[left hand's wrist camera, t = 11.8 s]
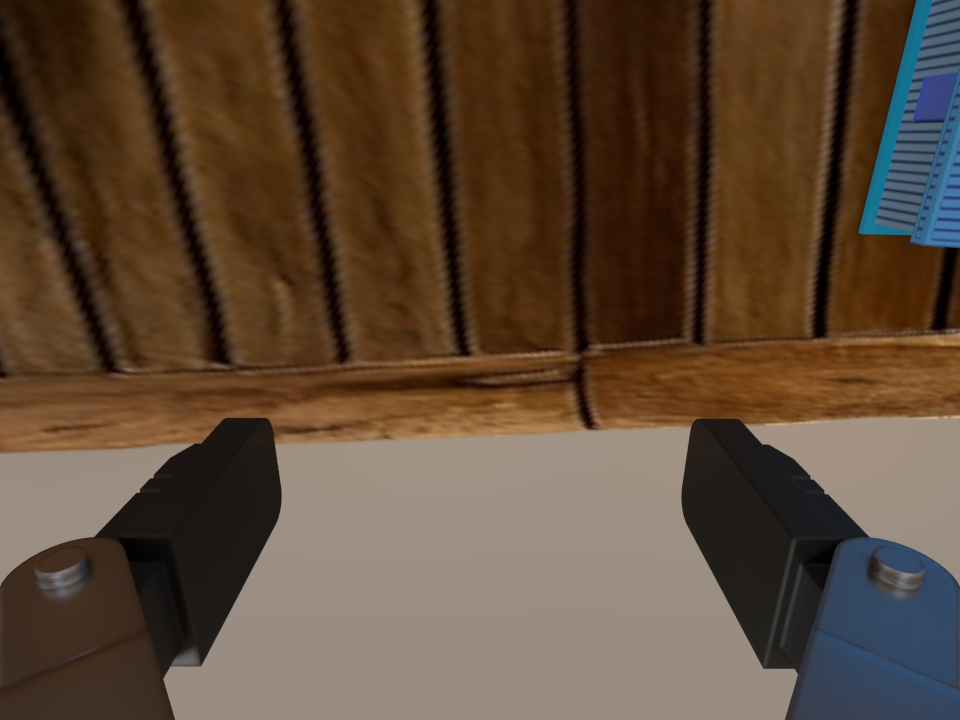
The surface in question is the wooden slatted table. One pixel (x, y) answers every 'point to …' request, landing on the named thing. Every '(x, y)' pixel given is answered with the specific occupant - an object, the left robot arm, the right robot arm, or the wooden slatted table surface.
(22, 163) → the wooden slatted table surface
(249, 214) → the wooden slatted table surface
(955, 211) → the model building
